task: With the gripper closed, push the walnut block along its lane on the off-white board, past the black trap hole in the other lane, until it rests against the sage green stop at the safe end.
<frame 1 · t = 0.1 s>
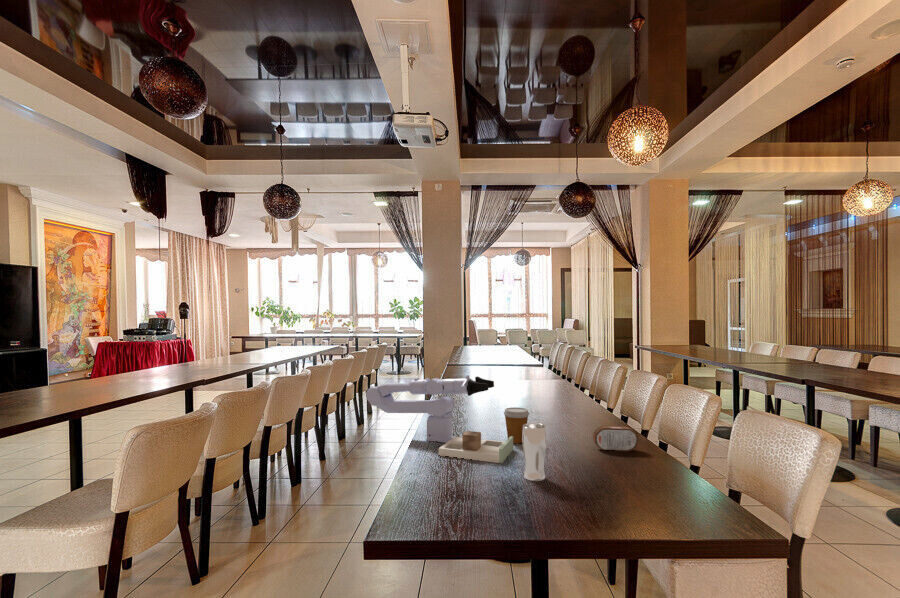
hand: (490, 385, 166), 22 cm above the table, tool horizontal, fingers open, 7 cm apart
trap board: (476, 452, 156), on the table
walnut block: (471, 448, 152), point 2 cm above the table, touching trap board
beer glass: (534, 478, 132), on the table
tin: (615, 451, 158), on the table
disposable coffee cup: (516, 442, 169), on the table
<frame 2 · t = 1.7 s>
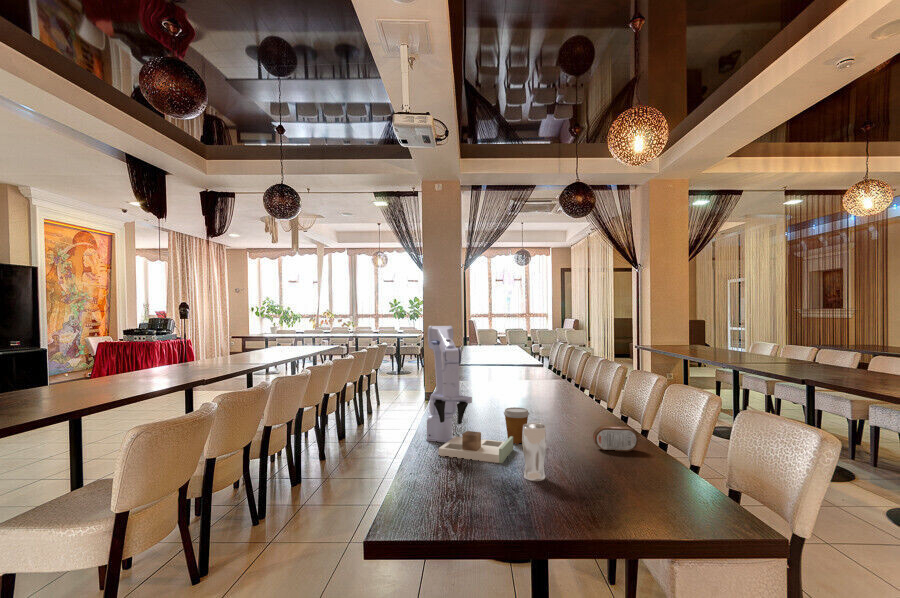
hand: (451, 422, 155), 10 cm above the table, tool pointing down, fingers open, 6 cm apart
nothing on the table moved.
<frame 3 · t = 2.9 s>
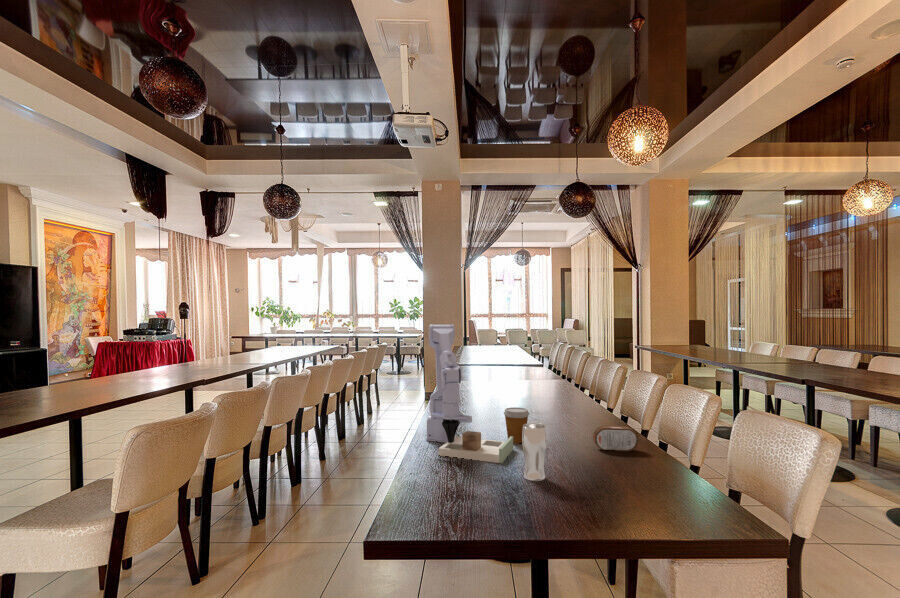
hand: (451, 442, 155), 4 cm above the table, tool pointing down, fingers closed
nothing on the table moved.
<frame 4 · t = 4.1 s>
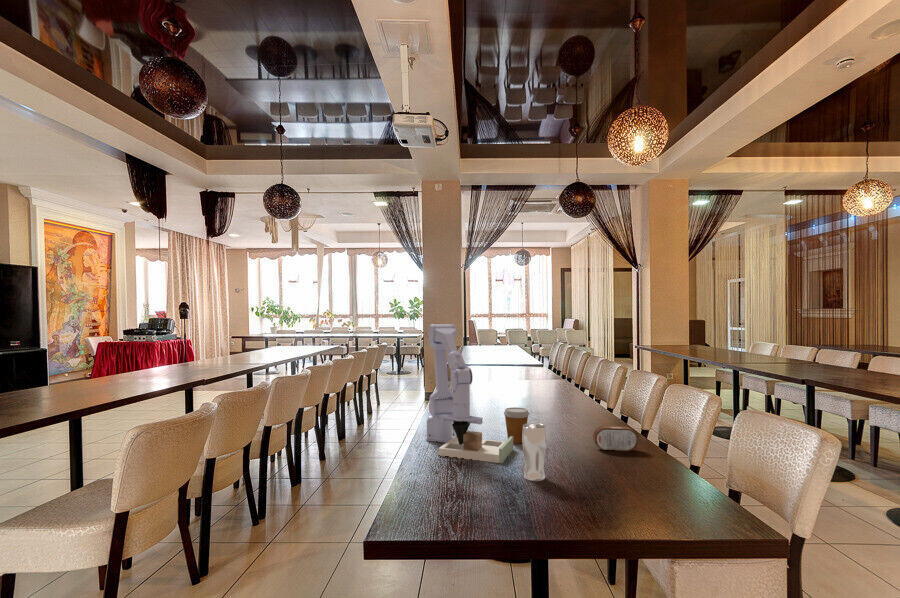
hand: (461, 443, 154), 4 cm above the table, tool pointing down, fingers closed
walnut block: (472, 448, 152), point 3 cm above the table, touching gripper
everything else where it was.
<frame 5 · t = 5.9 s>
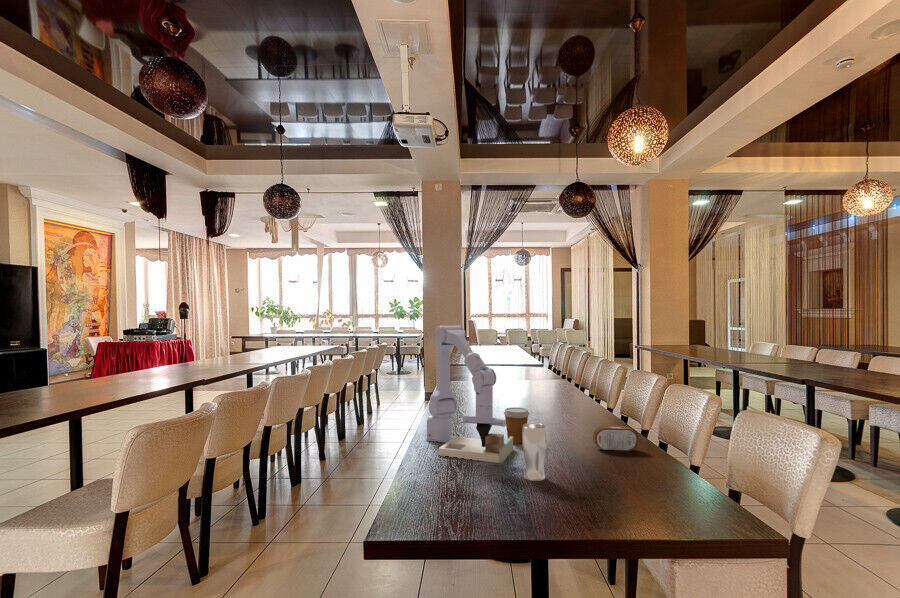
hand: (484, 446, 151), 4 cm above the table, tool pointing down, fingers closed
walnut block: (494, 450, 149), point 3 cm above the table, touching gripper, trap board
everything else where it was.
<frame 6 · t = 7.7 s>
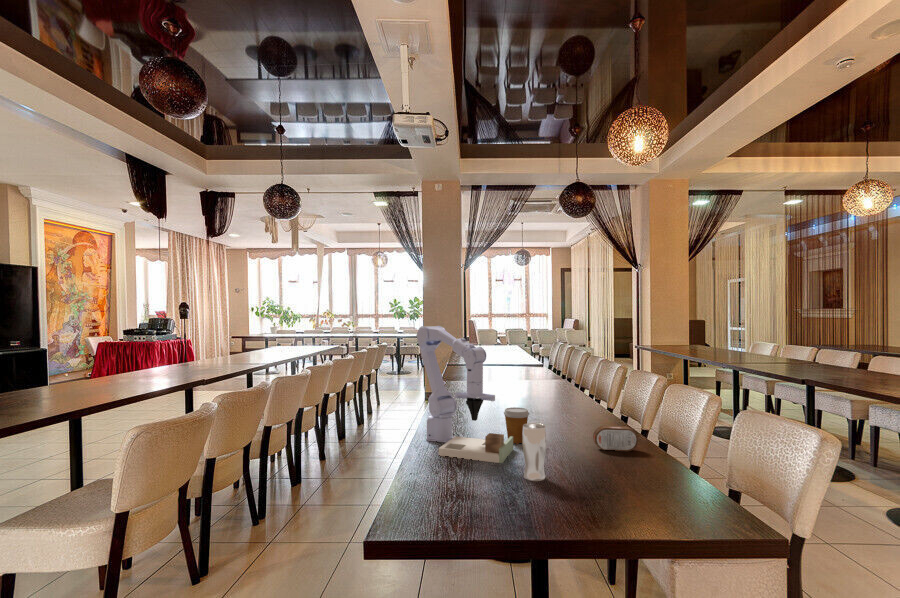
hand: (474, 419, 160), 10 cm above the table, tool pointing down, fingers closed
walnut block: (494, 450, 149), point 2 cm above the table, touching trap board
everything else where it was.
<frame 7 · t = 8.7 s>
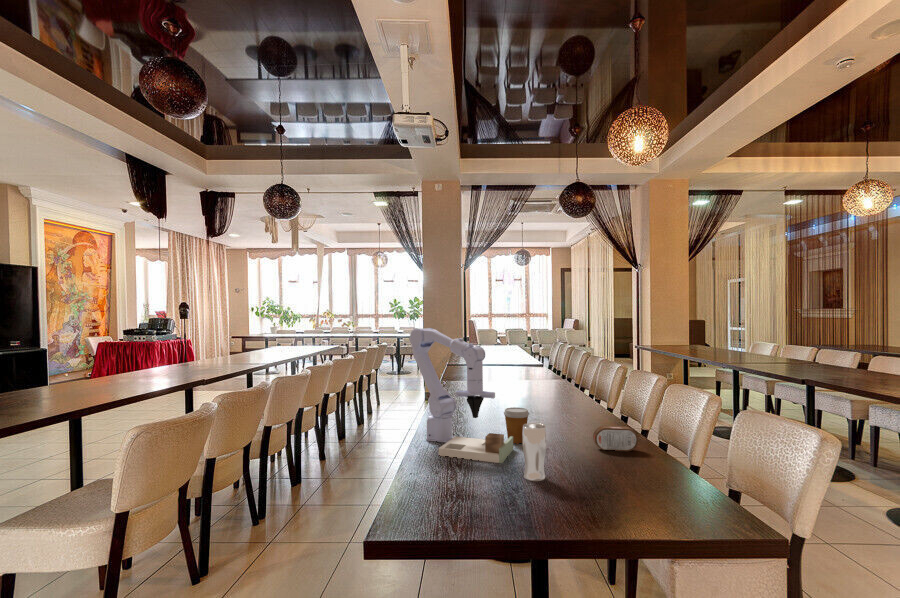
hand: (475, 417, 163), 10 cm above the table, tool pointing down, fingers closed
nothing on the table moved.
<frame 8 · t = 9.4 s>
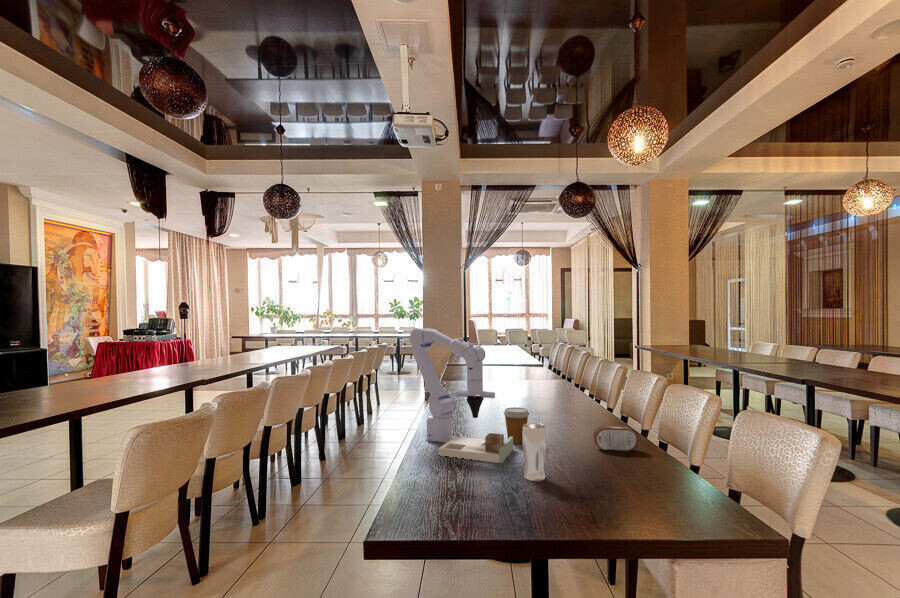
hand: (475, 417, 163), 10 cm above the table, tool pointing down, fingers closed
nothing on the table moved.
at the end: walnut block 0.8 cm from the target spot on the trap board, point 2.5 cm above the trap board's base; walnut block tilted 0°; walnut block moved 8.0 cm from its start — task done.
